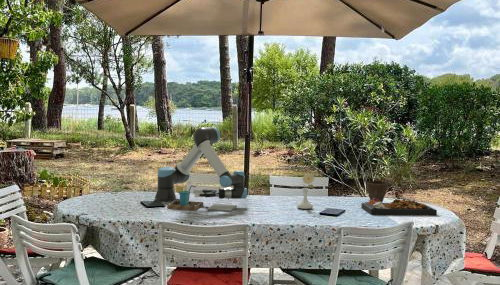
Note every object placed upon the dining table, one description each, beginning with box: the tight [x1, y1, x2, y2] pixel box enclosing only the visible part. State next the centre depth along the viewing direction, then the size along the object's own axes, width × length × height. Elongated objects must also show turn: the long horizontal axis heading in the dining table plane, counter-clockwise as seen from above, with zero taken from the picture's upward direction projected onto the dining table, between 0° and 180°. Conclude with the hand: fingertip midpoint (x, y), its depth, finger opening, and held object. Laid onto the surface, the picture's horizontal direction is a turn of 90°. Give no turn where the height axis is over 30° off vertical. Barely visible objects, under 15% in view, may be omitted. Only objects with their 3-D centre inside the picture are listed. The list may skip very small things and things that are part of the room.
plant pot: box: [366, 180, 388, 203], centre depth 457 cm, size 15×15×16 cm
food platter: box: [360, 197, 438, 217], centre depth 429 cm, size 45×25×10 cm, turn 95°
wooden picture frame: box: [167, 199, 204, 211], centre depth 426 cm, size 20×18×2 cm
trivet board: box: [206, 203, 238, 213], centre depth 424 cm, size 16×20×1 cm
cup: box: [175, 185, 197, 206], centre depth 425 cm, size 14×8×15 cm, turn 90°
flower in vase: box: [296, 173, 315, 210], centre depth 430 cm, size 13×11×25 cm
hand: (193, 193), depth 427 cm, fingers open, 13 cm apart
